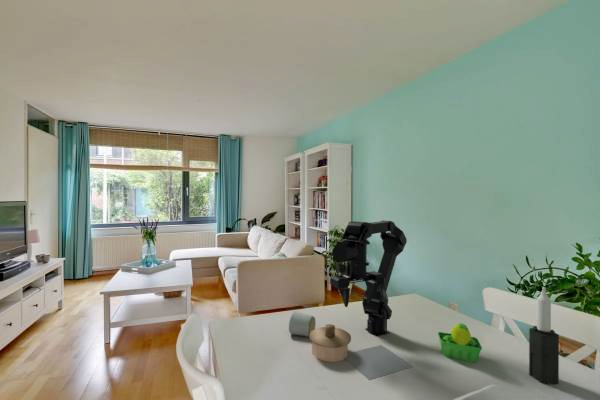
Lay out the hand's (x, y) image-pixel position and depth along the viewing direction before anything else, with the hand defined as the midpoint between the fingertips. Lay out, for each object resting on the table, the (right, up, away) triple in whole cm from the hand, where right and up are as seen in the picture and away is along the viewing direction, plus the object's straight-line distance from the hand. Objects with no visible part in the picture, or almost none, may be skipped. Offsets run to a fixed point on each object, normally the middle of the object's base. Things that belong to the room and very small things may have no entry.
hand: (357, 304), depth 100 cm
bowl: (-10, -13, -7) cm, 18 cm away
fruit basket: (+30, -14, -8) cm, 34 cm away
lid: (-10, -8, -7) cm, 14 cm away
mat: (+3, -13, -12) cm, 18 cm away
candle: (+47, -14, -19) cm, 53 cm away
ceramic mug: (-18, -13, +8) cm, 24 cm away
